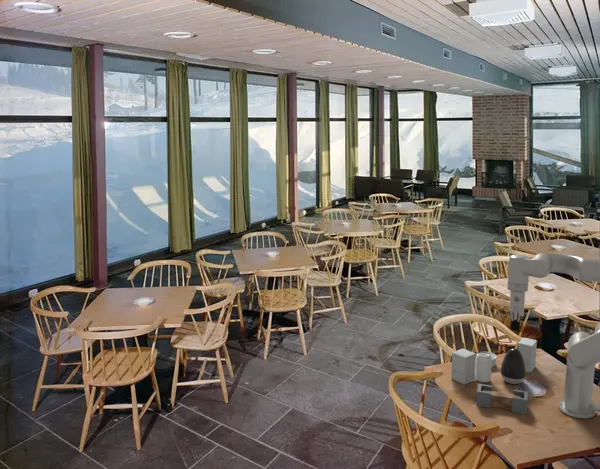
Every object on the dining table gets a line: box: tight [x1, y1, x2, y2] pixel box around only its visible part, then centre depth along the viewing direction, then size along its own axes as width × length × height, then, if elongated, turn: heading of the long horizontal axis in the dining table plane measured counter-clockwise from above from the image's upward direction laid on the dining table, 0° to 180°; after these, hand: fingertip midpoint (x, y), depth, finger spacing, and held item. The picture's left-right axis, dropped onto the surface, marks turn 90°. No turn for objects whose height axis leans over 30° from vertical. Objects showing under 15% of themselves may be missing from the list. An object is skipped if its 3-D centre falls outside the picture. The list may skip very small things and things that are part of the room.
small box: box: [517, 337, 538, 374], centre depth 240 cm, size 8×6×13 cm
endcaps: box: [475, 383, 528, 415], centre depth 209 cm, size 18×7×6 cm, turn 66°
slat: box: [483, 390, 521, 410], centre depth 209 cm, size 14×4×5 cm, turn 68°
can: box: [475, 351, 492, 384], centre depth 230 cm, size 6×6×12 cm
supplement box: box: [450, 348, 477, 385], centre depth 230 cm, size 7×7×13 cm
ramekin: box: [487, 351, 498, 368], centre depth 246 cm, size 9×9×4 cm
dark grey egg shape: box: [499, 347, 527, 385], centre depth 227 cm, size 10×10×15 cm
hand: (514, 329), depth 211 cm, fingers closed
